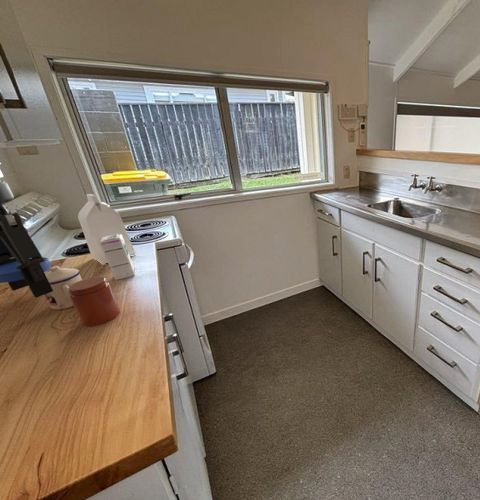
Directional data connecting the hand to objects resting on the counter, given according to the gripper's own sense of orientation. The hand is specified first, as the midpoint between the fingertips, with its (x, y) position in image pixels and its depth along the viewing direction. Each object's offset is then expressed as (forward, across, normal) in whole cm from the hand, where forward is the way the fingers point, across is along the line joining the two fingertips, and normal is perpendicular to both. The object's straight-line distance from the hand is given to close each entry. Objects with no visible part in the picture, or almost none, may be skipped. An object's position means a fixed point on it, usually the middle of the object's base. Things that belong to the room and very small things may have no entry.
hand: (32, 290), depth 60 cm
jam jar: (+15, +5, -11) cm, 20 cm away
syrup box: (+16, +26, -30) cm, 43 cm away
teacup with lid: (+16, +22, -12) cm, 30 cm away
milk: (+15, +50, -40) cm, 66 cm away
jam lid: (-5, 0, 0) cm, 5 cm away
